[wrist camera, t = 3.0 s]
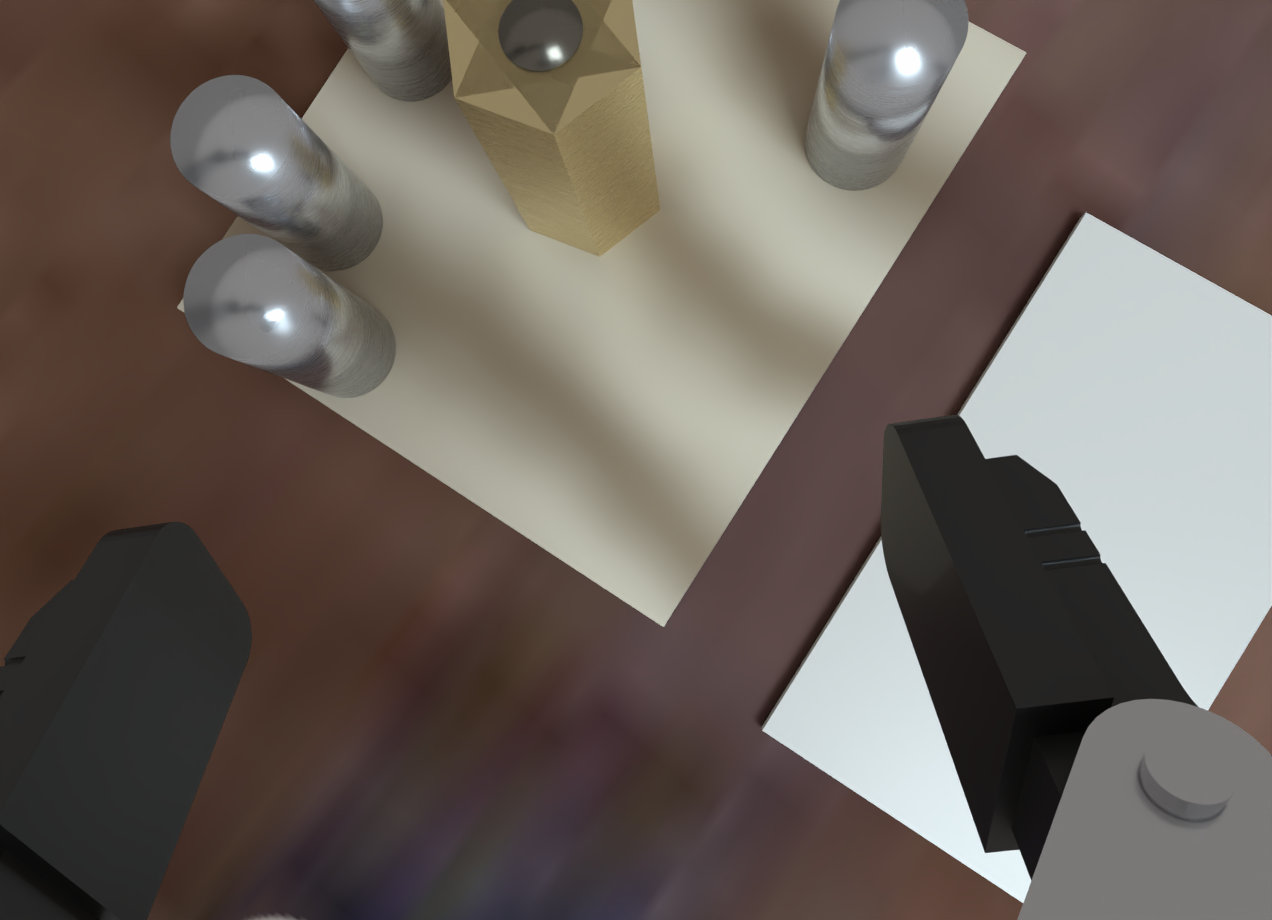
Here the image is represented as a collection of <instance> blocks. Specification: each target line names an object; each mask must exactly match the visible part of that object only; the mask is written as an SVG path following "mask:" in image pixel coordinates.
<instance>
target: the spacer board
mask: <svg viewBox="0 0 1272 920" xmlns="http://www.w3.org/2000/svg"><path fill="white" fill-rule="evenodd" d="M839 1H840V0H632V2H633V9H634V17H635V24H636V31H637V39H638V46H639V53H640V61H641V68H642V75H643V83H644V90H645V98H646V105H647V113H648V120H649V128H650V135H651V143H652V150H653V158H654V165H655V173H656V180H657V188H658V195H659V203H660V211H659V212H657V213H656V214H655V215H653V216H652V217H651V218H650V219H648V220H647V221H646V222H644V223H643V224H642V225H640V226H639V227H638V228H637V229H635V230H634V231H633V232H631V233H630V234H629V235H628V236H626V237H625V238H624V239H622V240H621V241H620V242H619V243H617V244H616V245H615V246H613V247H612V248H611V249H609V250H608V251H607V252H606V253H604V254H603V255H602V256H600V257H598V256H596V255H593V254H590V253H588V252H585V251H583V250H580V249H577V248H575V247H572V246H570V245H567V244H564V243H562V242H559V241H557V240H554V239H551V238H549V237H546V236H544V235H541V234H538V233H536V232H533V231H531V230H530V229H529V228H528V226H527V224H526V222H525V221H524V219H523V217H522V215H521V214H520V212H519V210H518V208H517V207H516V205H515V203H514V201H513V200H512V198H511V196H510V194H509V193H508V191H507V189H506V187H505V186H504V184H503V182H502V180H501V179H500V177H499V175H498V173H497V172H496V170H495V168H494V166H493V165H492V163H491V161H490V159H489V158H488V156H487V154H486V152H485V151H484V149H483V147H482V145H481V144H480V142H479V140H478V138H477V137H476V135H475V133H474V131H473V130H472V128H471V126H470V124H469V123H468V121H467V119H466V117H465V116H464V114H463V112H462V110H461V109H460V107H459V105H458V103H457V102H456V100H455V98H454V90H453V82H452V80H451V81H450V83H449V84H448V85H447V86H446V87H445V88H444V89H443V90H442V91H440V92H439V93H438V94H436V95H434V96H432V97H430V98H428V99H425V100H421V101H415V102H406V101H400V100H396V99H393V98H391V97H389V96H387V95H386V94H384V93H383V92H382V91H381V90H380V89H379V88H378V87H377V86H376V85H375V84H374V82H373V81H372V80H371V78H370V77H369V76H368V74H367V73H366V71H365V70H364V69H363V67H362V66H361V65H360V63H359V62H358V60H357V59H356V58H355V56H354V55H353V54H352V52H351V51H350V50H349V48H348V49H347V51H346V52H345V54H344V55H343V57H342V58H341V60H340V61H339V63H338V64H337V66H336V68H335V69H334V71H333V72H332V74H331V75H330V77H329V78H328V80H327V81H326V83H325V84H324V86H323V87H322V89H321V90H320V92H319V93H318V95H317V96H316V98H315V99H314V101H313V102H312V104H311V105H310V107H309V108H308V110H307V111H306V113H305V114H304V116H303V117H302V120H303V121H304V122H305V123H306V124H307V125H308V126H309V127H310V128H311V129H312V130H313V131H314V132H315V133H316V134H317V135H318V136H319V137H320V138H321V140H322V141H323V142H324V143H325V144H326V145H327V146H328V147H329V148H330V149H331V150H332V151H333V152H334V153H335V154H336V155H337V156H338V157H339V158H340V159H341V160H342V161H343V162H344V163H345V164H346V165H347V166H348V167H349V168H350V169H351V170H352V172H353V173H354V174H355V175H356V176H357V177H358V178H359V179H360V180H361V181H362V182H363V183H364V184H365V185H366V186H367V187H368V188H369V189H370V190H371V191H372V192H373V194H374V195H375V196H376V198H377V200H378V202H379V204H380V206H381V210H382V215H383V227H382V233H381V236H380V239H379V241H378V244H377V245H376V247H375V249H374V250H373V251H372V253H371V254H370V255H369V256H368V257H367V258H366V259H365V260H363V261H362V262H361V263H359V264H358V265H356V266H354V267H351V268H349V269H346V270H341V271H326V270H321V269H318V268H317V269H318V270H320V271H321V272H323V273H324V274H326V275H327V276H329V277H330V278H331V279H333V280H334V281H336V282H337V283H339V284H340V285H342V286H343V287H345V288H346V289H347V290H349V291H350V292H352V293H353V294H355V295H356V296H358V297H359V298H361V299H362V300H364V301H365V302H366V303H368V304H369V305H371V306H372V307H374V308H375V309H377V310H378V311H379V312H381V313H382V314H383V315H384V316H385V318H386V319H387V320H388V322H389V323H390V325H391V327H392V329H393V332H394V335H395V340H396V356H395V360H394V364H393V366H392V369H391V371H390V372H389V374H388V376H387V377H386V379H385V380H384V381H383V382H382V383H381V384H380V385H379V386H378V387H377V388H375V389H374V390H372V391H371V392H369V393H367V394H365V395H362V396H359V397H354V398H338V397H334V396H331V395H328V394H325V393H323V392H320V391H317V390H315V389H312V388H309V387H307V386H304V385H301V384H298V383H296V382H293V381H290V380H288V379H286V380H288V381H289V382H291V383H292V384H294V385H295V386H297V387H298V388H300V389H301V390H303V391H304V392H306V393H307V394H309V395H310V396H312V397H313V398H315V399H317V400H318V401H320V402H321V403H323V404H324V405H326V406H327V407H329V408H330V409H332V410H333V411H335V412H336V413H338V414H339V415H341V416H342V417H344V418H345V419H347V420H349V421H350V422H352V423H353V424H355V425H356V426H358V427H359V428H361V429H362V430H364V431H365V432H367V433H368V434H370V435H371V436H373V437H374V438H376V439H378V440H379V441H381V442H382V443H384V444H385V445H387V446H388V447H390V448H391V449H393V450H394V451H396V452H397V453H399V454H400V455H402V456H403V457H405V458H406V459H408V460H410V461H411V462H413V463H414V464H416V465H417V466H419V467H420V468H422V469H423V470H425V471H426V472H428V473H429V474H431V475H432V476H434V477H435V478H437V479H438V480H440V481H442V482H443V483H445V484H446V485H448V486H449V487H451V488H452V489H454V490H455V491H457V492H458V493H460V494H461V495H463V496H464V497H466V498H467V499H469V500H471V501H472V502H474V503H475V504H477V505H478V506H480V507H481V508H483V509H484V510H486V511H487V512H489V513H490V514H492V515H493V516H495V517H496V518H498V519H499V520H501V521H503V522H504V523H506V524H507V525H509V526H510V527H512V528H513V529H515V530H516V531H518V532H519V533H521V534H522V535H524V536H525V537H527V538H528V539H530V540H531V541H533V542H535V543H536V544H538V545H539V546H541V547H542V548H544V549H545V550H547V551H548V552H550V553H551V554H553V555H554V556H556V557H557V558H559V559H560V560H562V561H563V562H565V563H567V564H568V565H570V566H571V567H573V568H574V569H576V570H577V571H579V572H580V573H582V574H583V575H585V576H586V577H588V578H589V579H591V580H592V581H594V582H596V583H597V584H599V585H600V586H602V587H603V588H605V589H606V590H608V591H609V592H611V593H612V594H614V595H615V596H617V597H618V598H620V599H621V600H623V601H624V602H626V603H628V604H629V605H631V606H632V607H634V608H635V609H637V610H638V611H640V612H641V613H643V614H644V615H646V616H647V617H649V618H650V619H652V620H653V621H655V622H656V623H658V624H660V625H661V626H663V627H664V625H665V624H666V622H667V621H668V619H669V618H670V616H671V614H672V613H673V611H674V610H675V608H676V606H677V605H678V603H679V602H680V600H681V599H682V597H683V595H684V594H685V592H686V591H687V589H688V588H689V586H690V584H691V583H692V581H693V580H694V578H695V576H696V575H697V573H698V572H699V570H700V569H701V567H702V565H703V564H704V562H705V561H706V559H707V557H708V556H709V554H710V553H711V551H712V550H713V548H714V546H715V545H716V543H717V542H718V540H719V538H720V537H721V535H722V534H723V532H724V531H725V529H726V527H727V526H728V524H729V523H730V521H731V519H732V518H733V516H734V515H735V513H736V512H737V510H738V508H739V507H740V505H741V504H742V502H743V501H744V499H745V497H746V496H747V494H748V493H749V491H750V489H751V488H752V486H753V485H754V483H755V482H756V480H757V478H758V477H759V475H760V474H761V472H762V470H763V469H764V467H765V466H766V464H767V463H768V461H769V459H770V458H771V456H772V455H773V453H774V451H775V450H776V448H777V447H778V445H779V444H780V442H781V440H782V439H783V437H784V436H785V434H786V432H787V431H788V429H789V428H790V426H791V425H792V423H793V421H794V420H795V418H796V417H797V415H798V414H799V412H800V410H801V409H802V407H803V406H804V404H805V402H806V401H807V399H808V398H809V396H810V395H811V393H812V391H813V390H814V388H815V387H816V385H817V383H818V382H819V380H820V379H821V377H822V376H823V374H824V372H825V371H826V369H827V368H828V366H829V364H830V363H831V361H832V360H833V358H834V357H835V355H836V353H837V352H838V350H839V349H840V347H841V346H842V344H843V342H844V341H845V339H846V338H847V336H848V334H849V333H850V331H851V330H852V328H853V327H854V325H855V323H856V322H857V320H858V319H859V317H860V315H861V314H862V312H863V311H864V309H865V308H866V306H867V304H868V303H869V301H870V300H871V298H872V296H873V295H874V293H875V292H876V290H877V289H878V287H879V285H880V284H881V282H882V281H883V279H884V277H885V276H886V274H887V273H888V271H889V270H890V268H891V266H892V265H893V263H894V262H895V260H896V259H897V257H898V255H899V254H900V252H901V251H902V249H903V247H904V246H905V244H906V243H907V241H908V240H909V238H910V236H911V235H912V233H913V232H914V230H915V228H916V227H917V225H918V224H919V222H920V221H921V219H922V217H923V216H924V214H925V213H926V211H927V209H928V208H929V206H930V205H931V203H932V202H933V200H934V198H935V197H936V195H937V194H938V192H939V190H940V189H941V187H942V186H943V184H944V183H945V181H946V179H947V178H948V176H949V175H950V173H951V172H952V170H953V168H954V167H955V165H956V164H957V162H958V160H959V159H960V157H961V156H962V154H963V153H964V151H965V149H966V148H967V146H968V145H969V143H970V141H971V140H972V138H973V137H974V135H975V134H976V132H977V130H978V129H979V127H980V126H981V124H982V122H983V121H984V119H985V118H986V116H987V115H988V113H989V111H990V110H991V108H992V107H993V105H994V103H995V102H996V100H997V99H998V97H999V96H1000V94H1001V92H1002V91H1003V89H1004V88H1005V86H1006V85H1007V83H1008V81H1009V80H1010V78H1011V77H1012V75H1013V73H1014V72H1015V70H1016V69H1017V67H1018V66H1019V64H1020V62H1021V61H1022V59H1023V58H1024V56H1025V54H1026V52H1024V51H1022V50H1021V49H1019V48H1017V47H1015V46H1013V45H1011V44H1009V43H1008V42H1006V41H1004V40H1002V39H1000V38H998V37H996V36H995V35H993V34H991V33H989V32H987V31H985V30H983V29H982V28H980V27H978V26H976V25H974V24H972V23H970V22H969V24H968V33H967V37H966V41H965V43H964V46H963V48H962V50H961V52H960V54H959V56H958V58H957V59H956V61H955V63H954V65H953V67H952V69H951V71H950V73H949V74H948V76H947V78H946V80H945V82H944V84H943V86H942V88H941V89H940V91H939V93H938V95H937V97H936V99H935V101H934V103H933V104H932V106H931V108H930V110H929V112H928V114H927V116H926V118H925V119H924V121H923V123H922V125H921V127H920V129H919V131H918V133H917V134H916V136H915V138H914V140H913V142H912V144H911V146H910V148H909V149H908V151H907V153H906V155H905V157H904V159H903V161H902V163H901V164H900V166H899V168H898V169H897V170H896V172H895V173H894V174H893V175H892V176H891V177H890V178H889V179H887V180H886V181H885V182H883V183H882V184H880V185H878V186H876V187H873V188H870V189H866V190H860V191H850V190H843V189H839V188H836V187H834V186H832V185H830V184H828V183H826V182H825V181H823V180H822V179H821V178H820V177H819V176H818V175H817V174H816V173H815V172H814V171H813V169H812V168H811V166H810V164H809V162H808V160H807V157H806V154H805V149H804V138H805V132H806V128H807V124H808V120H809V116H810V112H811V108H812V104H813V100H814V96H815V92H816V88H817V85H818V81H819V77H820V73H821V69H822V65H823V61H824V57H825V53H826V49H827V45H828V41H829V37H830V33H831V29H832V25H833V21H834V18H835V14H836V10H837V6H838V4H839ZM440 2H441V4H442V6H443V9H444V3H443V0H440ZM240 234H257V235H262V236H266V237H268V238H270V237H269V236H267V235H266V234H264V233H263V232H261V231H260V230H258V229H257V228H255V227H254V226H252V225H251V224H250V223H248V222H247V221H245V220H244V219H242V218H241V217H239V216H237V217H236V219H235V220H234V222H233V223H232V225H231V226H230V228H229V229H228V231H227V232H226V234H225V236H224V237H223V239H225V238H228V237H231V236H234V235H240ZM223 239H222V240H223ZM183 299H184V298H183ZM183 299H182V301H181V302H180V304H179V305H178V307H177V308H178V309H179V310H181V311H182V312H184V313H185V311H184V303H183Z"/></svg>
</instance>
